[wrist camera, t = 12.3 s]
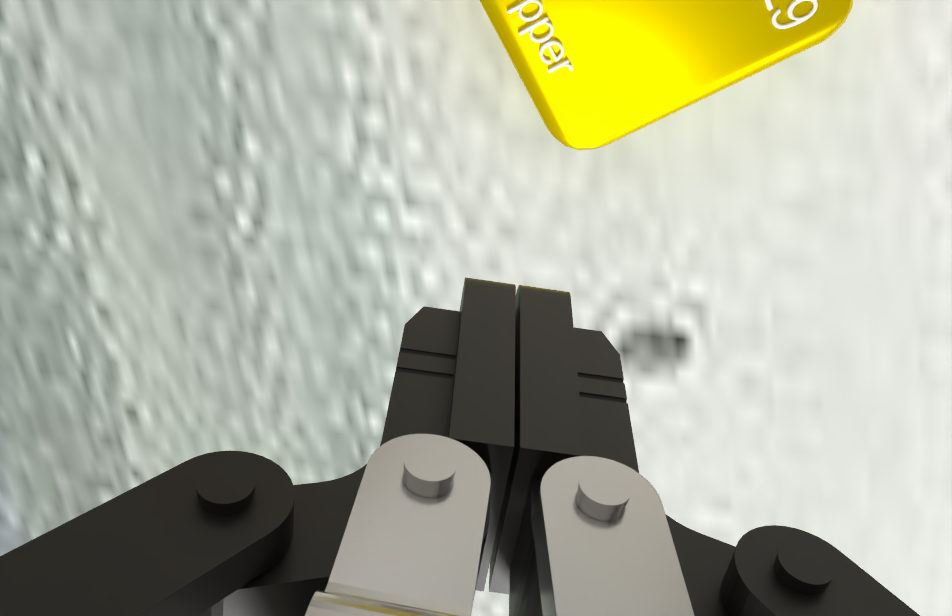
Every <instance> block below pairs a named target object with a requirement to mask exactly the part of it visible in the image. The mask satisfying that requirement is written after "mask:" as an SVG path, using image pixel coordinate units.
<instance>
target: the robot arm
mask: <svg viewBox="0 0 952 616" xmlns="http://www.w3.org/2000/svg"><path fill="white" fill-rule="evenodd" d="M623 379H624V378H623V372H622V366H621V360H620V354H619V353H618V352H617V351H616V349H615V348H614V347H613V345H612V344H611V343H610V342H609V340H608V339H607V338H606V336H605V335H604V334H603V333H602V331H594V330H587V329H580V328H573V318H572V308H571V297H570V293H569V292H564V291H557V290H550V289H543V288H536V287H529V286H522V285H519V286H518V289H517V293H516V287H515V285H514V284H507V283H500V282H493V281H486V280H479V279H472V278H465V281H464V287H463V293H462V300H461V306H460V312H459V311H452V310H445V309H438V308H431V307H423V308H422V309H421V310H420V311H419V312H418V313H417V314H415V315H414V316H413V317H412V318H411V319H410V320H409V321H408V322H407V323H406V324H405V327H404V332H403V337H402V342H401V347H400V352H399V357H398V362H397V367H396V372H395V377H394V382H393V387H392V392H391V397H390V402H389V407H388V412H387V417H386V422H385V427H384V432H383V437H382V441H381V444H380V447H379V448H378V449H376V450H375V452H374V453H373V454H372V455H371V457H370V459H369V461H368V463H367V464H366V465H365V466H364V467H362V468H361V469H359V470H357V471H356V472H354V473H352V474H350V475H347V476H345V477H342V478H339V479H335V480H331V481H325V482H319V483H310V484H301V485H293V484H292V481H291V479H290V477H289V476H288V474H287V473H286V472H285V471H284V470H283V469H282V468H281V467H280V466H279V465H277V464H276V463H274V462H273V461H271V460H269V459H267V458H265V457H263V456H260V455H256V454H253V453H248V452H242V451H218V452H213V453H207V454H204V455H200V456H197V457H195V458H192V459H190V460H188V461H185V462H183V463H182V464H180V465H178V466H176V467H174V468H172V469H170V470H168V471H166V472H164V473H162V474H160V475H158V476H156V477H154V478H152V479H150V480H148V481H146V482H145V483H143V484H141V485H139V486H137V487H135V488H133V489H131V490H129V491H127V492H125V493H123V494H121V495H119V496H117V497H115V498H113V499H111V500H109V501H107V502H106V503H104V504H102V505H100V506H98V507H96V508H94V509H92V510H90V511H88V512H86V513H84V514H82V515H80V516H78V517H76V518H74V519H72V520H70V521H68V522H67V523H65V524H63V525H61V526H59V527H57V528H55V529H53V530H51V531H49V532H47V533H45V534H43V535H41V536H39V537H37V538H35V539H33V540H31V541H29V542H28V543H26V544H24V545H22V546H20V547H18V548H16V549H14V550H12V551H10V552H8V553H6V554H4V555H2V556H0V616H471V612H472V606H473V600H474V595H475V590H479V591H484V587H485V582H486V577H487V573H488V568H489V563H490V577H489V592H497V593H504V594H509V616H920V615H918V614H917V613H916V612H915V611H914V610H912V609H911V608H910V607H909V606H907V605H906V604H905V603H904V602H902V601H901V600H900V599H899V598H897V597H896V596H895V595H894V594H892V593H891V592H890V591H889V590H887V589H886V588H885V587H884V586H882V585H881V584H880V583H879V582H877V581H876V580H875V579H874V578H872V577H871V576H870V575H869V574H868V573H866V572H865V571H864V570H863V569H861V568H860V567H859V566H858V565H856V564H855V563H854V562H853V561H851V560H850V559H849V558H848V557H846V556H845V555H844V554H843V553H841V552H840V551H839V550H838V549H836V548H835V547H833V546H832V545H831V544H829V543H828V542H826V541H824V540H822V539H821V538H819V537H817V536H815V535H812V534H810V533H808V532H805V531H802V530H799V529H795V528H791V527H786V526H763V527H758V528H755V529H753V530H751V531H749V532H747V533H746V534H745V535H743V536H742V538H741V539H740V540H739V541H738V544H737V546H736V547H734V546H732V545H729V544H727V543H724V542H721V541H719V540H716V539H714V538H711V537H708V536H706V535H703V534H701V533H698V532H696V531H693V530H691V529H689V528H687V527H685V526H683V525H681V524H680V523H678V522H676V521H675V520H673V519H672V518H670V517H669V516H667V515H666V514H665V512H664V508H663V505H662V502H661V499H660V497H659V495H658V493H657V491H656V490H655V488H654V487H653V486H652V485H651V484H650V482H649V481H648V480H647V479H645V478H644V477H643V476H642V475H641V474H639V470H638V464H637V458H636V452H635V445H634V439H633V433H632V427H631V421H630V415H629V409H628V403H626V400H627V397H626V390H625V384H624V383H623Z"/></svg>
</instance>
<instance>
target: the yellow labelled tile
mask: <svg viewBox="0 0 952 616" xmlns="http://www.w3.org/2000/svg"><path fill="white" fill-rule="evenodd" d="M480 2H481V4H482V6H483V8H484V10H485V11H486V13H487V15H488V17H489V19H490V21H491V23H492V25H493V27H494V29H495V30H496V32H497V34H498V36H499V38H500V40H501V42H502V44H503V46H504V48H505V49H506V51H507V53H508V55H509V57H510V59H511V61H512V63H513V65H514V67H515V68H516V70H517V72H518V74H519V76H520V78H521V80H522V82H523V84H524V86H525V87H526V89H527V91H528V93H529V95H530V97H531V99H532V101H533V103H534V105H535V106H536V108H537V110H538V112H539V114H540V116H541V118H542V120H543V122H544V124H545V125H546V127H547V129H548V130H549V131H550V133H551V134H552V135H553V136H554V137H555V138H556V139H557V140H559V141H560V142H561V143H562V144H564V145H565V146H567V147H570V148H574V149H577V150H587V149H596V148H599V147H602V146H605V145H608V144H610V143H612V142H614V141H616V140H618V139H620V138H622V137H624V136H626V135H628V134H631V133H633V132H635V131H637V130H639V129H641V128H643V127H645V126H647V125H649V124H651V123H654V122H656V121H658V120H660V119H662V118H664V117H666V116H668V115H670V114H672V113H674V112H676V111H679V110H681V109H683V108H685V107H687V106H689V105H691V104H693V103H695V102H697V101H699V100H702V99H704V98H706V97H708V96H710V95H712V94H714V93H716V92H718V91H720V90H722V89H725V88H727V87H729V86H731V85H733V84H735V83H737V82H739V81H741V80H743V79H745V78H747V77H750V76H752V75H754V74H756V73H758V72H760V71H762V70H764V69H766V68H768V67H770V66H773V65H775V64H777V63H779V62H781V61H783V60H785V59H787V58H789V57H791V56H793V55H795V54H798V53H800V52H802V51H804V50H806V49H808V48H810V47H812V46H814V45H816V44H818V43H821V42H823V41H824V40H826V39H827V38H828V37H830V36H831V35H832V34H833V33H834V32H835V31H836V30H837V29H838V28H839V27H840V26H841V25H842V24H843V23H844V22H845V20H846V18H847V16H848V14H849V12H850V10H851V8H852V4H853V0H480Z"/></svg>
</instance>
